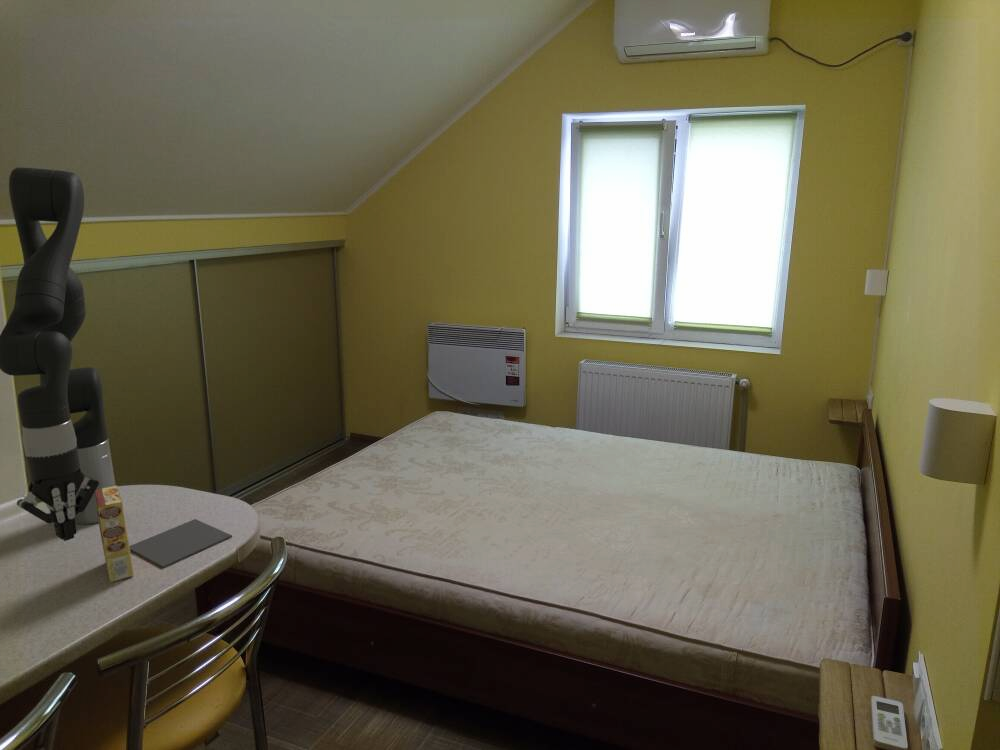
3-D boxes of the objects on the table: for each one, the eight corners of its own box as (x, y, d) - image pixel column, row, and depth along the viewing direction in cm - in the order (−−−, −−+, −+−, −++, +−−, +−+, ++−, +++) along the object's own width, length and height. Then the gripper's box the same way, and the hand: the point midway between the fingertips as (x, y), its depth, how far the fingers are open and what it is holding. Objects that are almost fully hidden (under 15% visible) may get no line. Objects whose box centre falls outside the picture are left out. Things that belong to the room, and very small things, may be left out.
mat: (127, 548, 140) (126, 547, 140) (195, 520, 152) (195, 518, 152) (163, 568, 133) (163, 566, 133) (232, 537, 145) (231, 535, 145)
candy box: (134, 576, 130) (123, 501, 126) (109, 583, 128) (96, 506, 124) (128, 556, 138) (118, 484, 134) (104, 562, 135) (92, 489, 131)
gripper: (80, 431, 127) (95, 518, 131) (-3, 453, 116) (16, 547, 121) (101, 440, 123) (115, 529, 127) (17, 463, 112) (36, 560, 117)
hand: (67, 538), depth 124 cm, fingers closed
